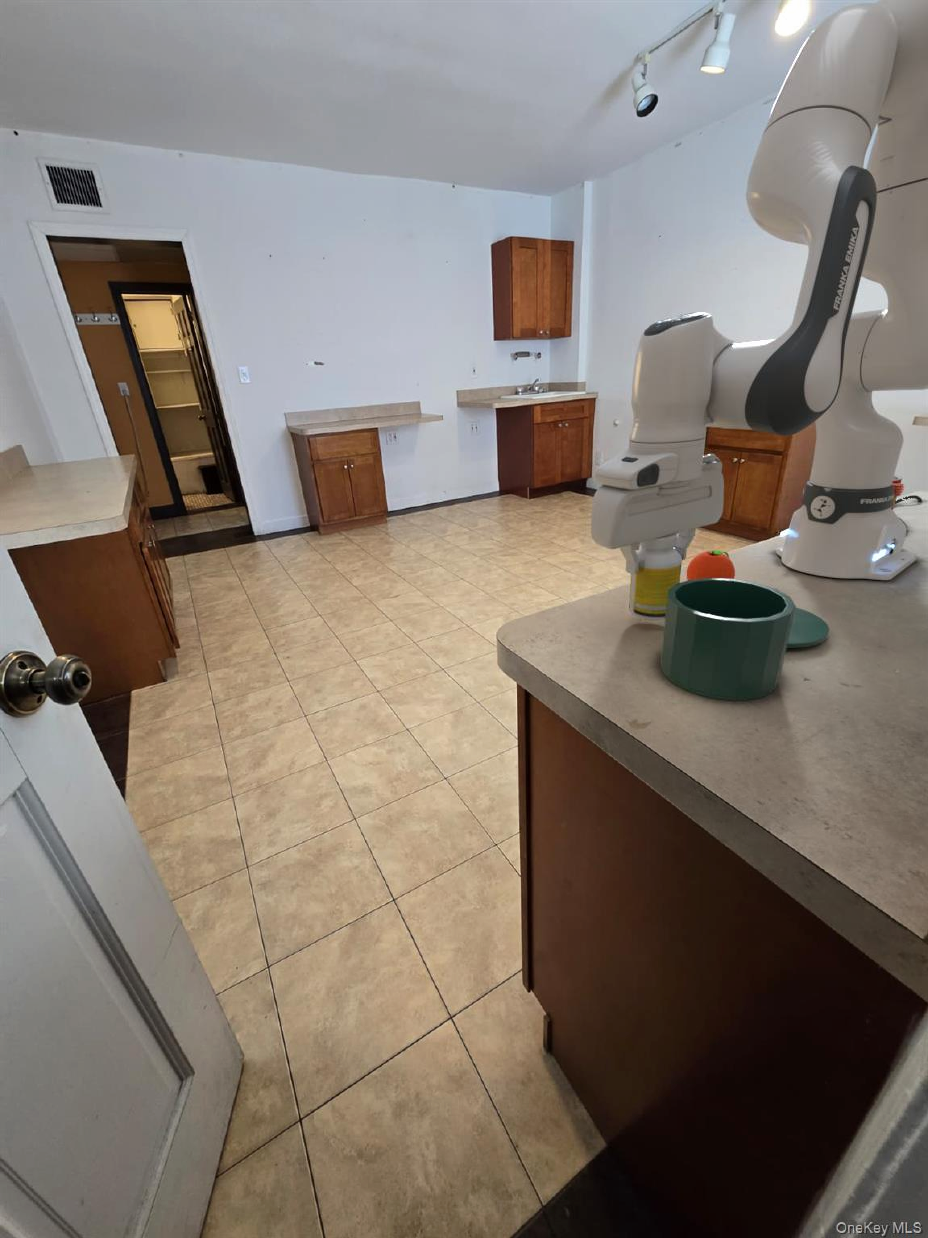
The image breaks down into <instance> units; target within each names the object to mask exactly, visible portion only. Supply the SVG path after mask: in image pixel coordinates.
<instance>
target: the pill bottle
mask: <svg viewBox="0 0 928 1238" xmlns="http://www.w3.org/2000/svg"><path fill="white" fill-rule="evenodd" d="M677 537H678V534H676V533H675V534H671V535H667V536H663V537H660V538H656V539H652V540H648V541H644V542H640V545H639V546H641V547H640V548H639V550H637V551H636V553H637V556H638V558H639V559H641V560H644V566H643V572H640V573H637V574H630V585H629V586H630V587H629V601H628V603H629V604H628V609H629V612H630V613H631V614H632V615H633V616H635V617H636V618H639V619H641V620H645V621H646V620H647V621H665V612H666V603H667V594H668V590H669V589H671V588H672V587H673V586H674V585H675V584H678V583H681V572H682V563H683V560H682V558H681V555H680V554H679V553H678V552H677V551H676V550H675V549H674V546H675V545H676V543H677Z"/></svg>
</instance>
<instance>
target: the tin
mask: <svg viewBox="0 0 928 1238" xmlns="http://www.w3.org/2000/svg"><path fill="white" fill-rule="evenodd" d="M795 607H796V604H795V602H794V600H793V599H792V597H791V596H790V595H788V594H786V593H784V592H782V591H780V590H779V589H777V588H774V587H771V586H768V585H765V584H761V583H758V582H754V581H748V580H743V579H736V578H734V579H724V578H704V579H692V580H685V581H680V583H678V584H675V585H674V586H673V587H672V588H671V589H669V590H668V594H667V603H666V612H665V620H664V622H663V631H662V632H663V633H662V641H661V651H660V663H659V664H660V670H661V672H662V674H663V675H664V676H665V678H666V679H667V680H668V681H670V682H671V683H672V684H674V685H676V686H677V687H679V688H681V689H683V690H685V691H687V692H689V693H693V694H695V695H698V696H702V697H706V698H709V699H714V700H721V701H737V702H739V701H750V700H756V699H760V698H763V697H765V696H768V695H769V694H771V693H772V692H773V691H774V690H775V689H776V688H777V686H778V682H779V681H780V678H781V674H782V670H783V665H784V661H785V656H786V652H787V648H786V647H787V643H788V638H789V634H790V629H791V625H792V621H793V616H794V612H795ZM796 608H797V607H796Z"/></svg>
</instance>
